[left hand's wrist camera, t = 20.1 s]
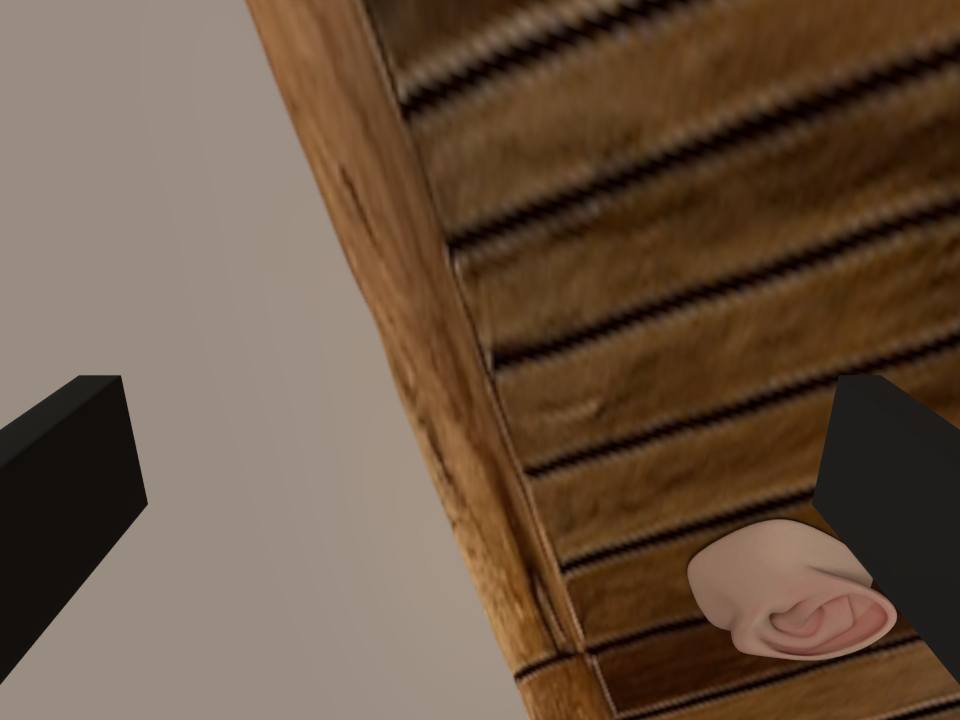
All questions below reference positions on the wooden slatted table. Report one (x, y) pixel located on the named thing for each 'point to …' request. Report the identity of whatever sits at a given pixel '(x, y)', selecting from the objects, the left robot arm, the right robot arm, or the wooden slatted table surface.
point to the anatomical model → (789, 592)
